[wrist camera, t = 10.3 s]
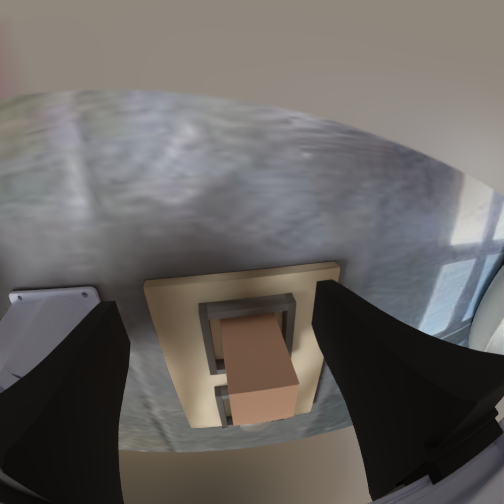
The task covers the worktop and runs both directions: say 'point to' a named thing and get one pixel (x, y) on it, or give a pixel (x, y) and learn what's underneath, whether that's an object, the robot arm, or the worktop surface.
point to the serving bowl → (490, 319)
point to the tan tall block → (258, 369)
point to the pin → (255, 426)
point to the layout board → (209, 331)
